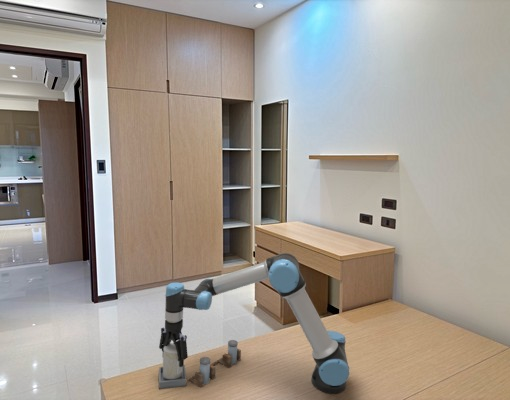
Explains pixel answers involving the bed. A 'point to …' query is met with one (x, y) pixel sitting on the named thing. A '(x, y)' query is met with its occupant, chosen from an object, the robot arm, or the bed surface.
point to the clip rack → (214, 368)
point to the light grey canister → (170, 362)
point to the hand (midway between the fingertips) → (172, 368)
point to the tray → (171, 380)
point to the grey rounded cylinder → (205, 369)
